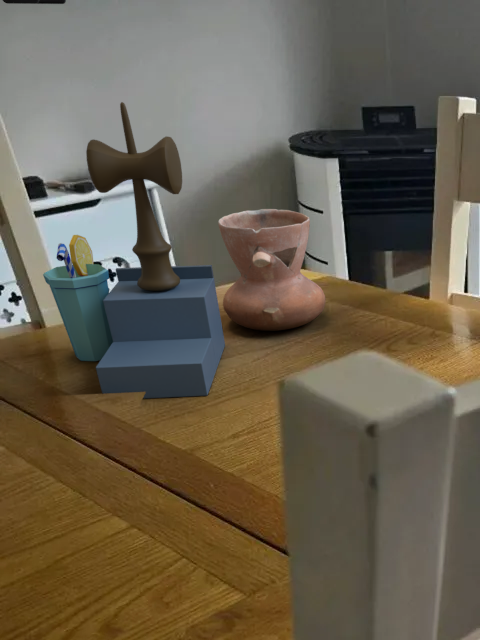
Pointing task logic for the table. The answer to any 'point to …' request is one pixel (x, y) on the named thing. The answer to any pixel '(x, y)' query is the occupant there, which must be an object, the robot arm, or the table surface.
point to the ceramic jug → (270, 270)
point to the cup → (81, 299)
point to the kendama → (141, 196)
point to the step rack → (162, 335)
